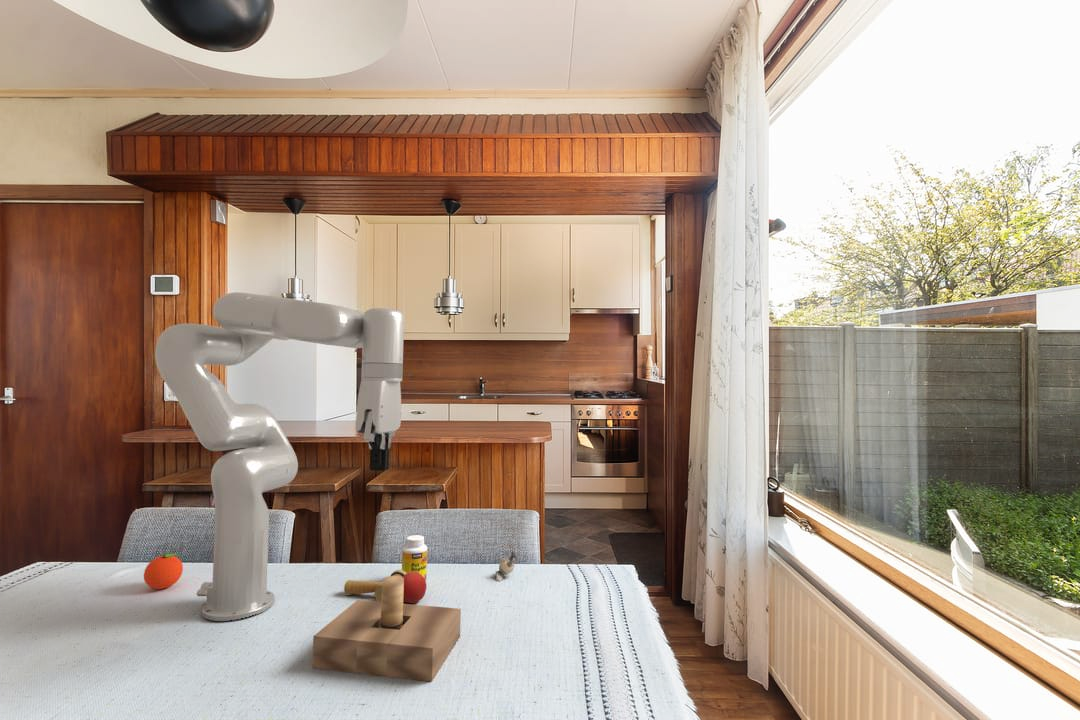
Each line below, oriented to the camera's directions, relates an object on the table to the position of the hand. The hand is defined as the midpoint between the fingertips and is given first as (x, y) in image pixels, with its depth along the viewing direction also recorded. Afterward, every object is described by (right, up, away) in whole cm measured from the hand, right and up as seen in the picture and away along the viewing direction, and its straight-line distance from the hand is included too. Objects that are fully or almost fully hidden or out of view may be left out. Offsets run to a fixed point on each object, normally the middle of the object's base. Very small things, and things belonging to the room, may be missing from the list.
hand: (379, 469), depth 97 cm
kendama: (-2, -30, +11) cm, 32 cm away
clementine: (-52, -29, +15) cm, 61 cm away
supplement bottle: (+2, -30, +20) cm, 36 cm away
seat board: (+5, -29, -10) cm, 31 cm away
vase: (+23, -31, +24) cm, 45 cm away
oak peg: (+5, -29, -10) cm, 31 cm away
